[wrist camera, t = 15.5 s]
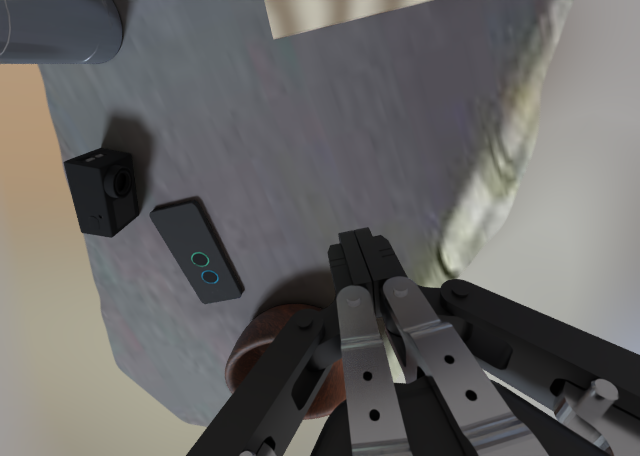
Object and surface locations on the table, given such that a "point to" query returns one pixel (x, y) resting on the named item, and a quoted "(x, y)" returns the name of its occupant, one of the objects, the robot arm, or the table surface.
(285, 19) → the wooden block stand
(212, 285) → the smart home device
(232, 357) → the wooden bowl
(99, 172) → the digital camera
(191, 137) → the table surface
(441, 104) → the table surface
